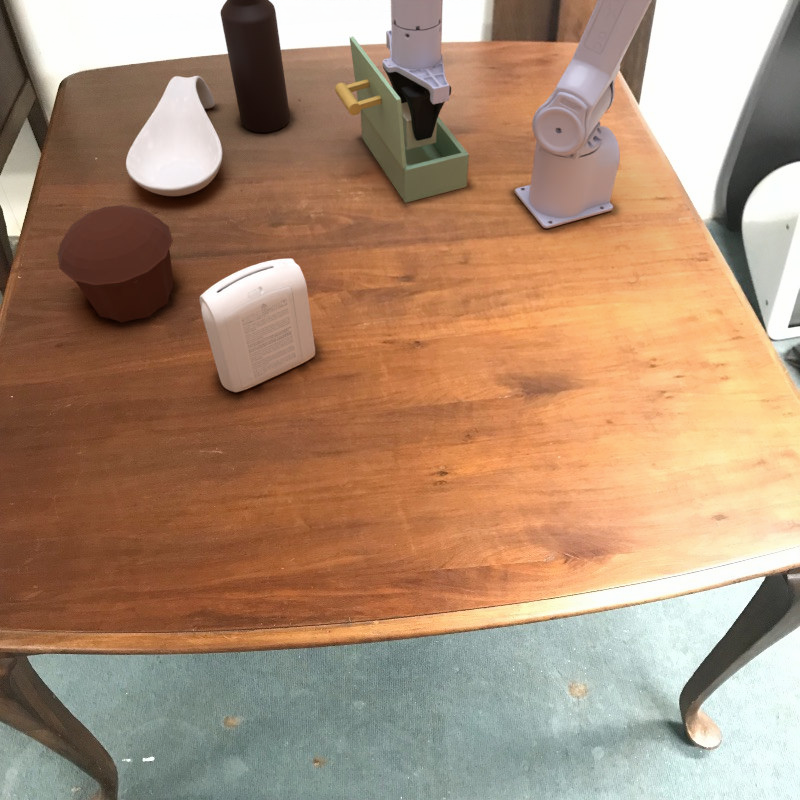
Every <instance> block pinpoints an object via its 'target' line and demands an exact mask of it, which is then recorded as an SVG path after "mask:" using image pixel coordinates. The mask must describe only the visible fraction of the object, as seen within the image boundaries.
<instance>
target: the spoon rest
mask: <svg viewBox="0 0 800 800" xmlns="http://www.w3.org/2000/svg"><path fill="white" fill-rule="evenodd" d="M215 105H216V103H215V99H214V96H213V94H212V91H211V89H210V87H209V86H208V84H207V82H206V81H205V80H204V78H202V77H201V76H199V75H194V76H190V77H185V76H179V75H175V76H173V77H172V78H171V79H170V80H169V82H168V84H167V86H166V88H165V89H164V91H163V94H162V96H161V98H160V99H159V101H158V103H157V105H156V107H155V108H154V110H153V111H152V113H151V115H150V116H149V118H148V119H147V121H146V122H145V124H144V125H143V126H142V128H141V129H140V131H139V133H138V134H137V136H136V137H135V139H134V140H133V143H132V145H131V146H130V148H129V150H128V152H127V155H126V159H125V168H126V171H127V173H128V175H129V177H130V179H131V180H132V181H133V182H134V183H135V184H137V185H138V186H139V187H141V188H142V189H144V190H146V191H148V192H150V193H153V194H155V195H161V196H166V197H182V196H187V195H191V194H194V193H196V192H198V191H200V190H202V189H204V188H205V187H207V186H208V185H209V184H210V183H211V182H212V181H214V179H215V177H216V176H217V174H218V173H219V170H220V168H221V165H222V162H223V155H224V154H223V146H222V142H221V140H220V137H219V135H218V133H217V130H216V129H215V128H214V125H213V123H212V121H211V119H210V118H209V116H208V114H207V112H206V109H211V108H212V109H213V108H214V107H215Z"/></svg>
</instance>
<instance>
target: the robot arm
mask: <svg viewBox="0 0 800 800" xmlns="http://www.w3.org/2000/svg"><path fill="white" fill-rule="evenodd" d="M652 1H653V0H597V1H596V3H595V6H594V7H593V10H592V12H591V15H590V17H589V19H588V21H587V24H586V26H585V28H584V30H583V32H582V35H581V38H580V40H579V42H578V44H577V46H576V48H575V51H574V53H573V56H572V58H571V60H570V62H569V63H568V65H567V67H566V69H565V70H564V71H563V73H562V75H561V77H560V79H559V81H558V83H557V85H556V86H555V89H553V91H552V93H551V94H550V95H549V97H548V98H547V99H546V100H545V101H544V102H543V104H541V105H540V106H539V107H538V108H537V109H536V111H535V112H534V115H533V117H532V121H531V123H532V124H531V129H532V133H533V136H534V138H535V147H534V155H533V162H532V168H531V169H532V170H531V175H530V178H531V179H530V183H529V184H528V185H523V186H520V187H516V188H515V189H514V193H515V195H516V196H517V197H518V198H519V200H520V201H521V202H522V204H523V205H524V206H525V207H526V208H527V210H528V211H529V212H530V214H531V215H532V216H533V217H534V218H535V219H536V221H537V222H538V223H539V224H540V226H541V227H542V228H544V229H550V228H554V227H557V226H561V225H564V224H568V223H572V222H575V221H579V220H582V219H586V218H589V217H594V216H597V215H600V214H604V213H607V212H611V211H613V210H614V205H613V204H612V203H611V199H612V194H613V191H614V186H615V182H616V179H617V174H618V170H619V165H620V159H621V155H620V153H621V152H620V146H619V142H618V139H617V137H616V135H615V133H614V132H613V131H612V129H610V128H609V127H607V126H604V125H601V119H602V118H603V116H604V115H605V114H606V112H607V111H608V110H609V109H610V108H611V106H612V105H613V102H614V100H615V96H616V95H615V93H616V90H615V89H616V88H615V83H616V80H617V79H616V78H617V76H618V74H619V72H620V69H621V63H622V61H623V59H624V57H625V55H626V53H627V50H628V49H629V46H630V45H631V43H632V40H633V39H634V36H635V34H636V33H637V30H639V27H640V25H641V22H642V20H643V18H644V17H645V14H646V13H647V11H648V9H649V7H650V4H651V3H652ZM443 5H444V3H443V0H390V21H391V23H390V25H391V29H390V30H386V32H385V34H386V35H385V38H386V40H385V43H386V48H387V49H388V50H389V57H388V58H383V60H382V68H383V70H384V72H385V74H386V75H387V77H388V80H389V83H390V85H391V87H392V88H393V89H394V91H395V92H396V93H397V95H398V96H399V97H400V98H401V103H406V102H407V103H408V106H409V110H410V114H411V121H412V129H413V133H414V137H415V139H416V140H417V141H419V140H424V139H428V138H431V137H432V135H433V132H434V128H435V125H436V121H437V118H438V116H439V115H440V113H441V110H442V108H443V106H444V105H445V104H446V102H449V101H450V96H451V94H452V86H451V85H450V83H449V82H448V81H447V78H446V71H445V62H444V57H443V54H442V39H443V38H442V36H443Z"/></svg>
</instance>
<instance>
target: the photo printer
mask: <svg viewBox="0 0 800 800" xmlns="http://www.w3.org/2000/svg"><path fill="white" fill-rule="evenodd" d="M199 304H200V308H201V309H200V311H201V317H202V320H203V324H204V327H205V331H206V334H207V338H208V341H209V346H210V349H211V352H212V356H213V359H214V363H215V367H216V370H217V374H218V377H219V381H220V383H221V385H222V386H223V388H225V389H226V390H228V391H230V392H233V393H239V392H242V391H246V390H248V389H251V388H252V387H256V386H257V385H260V384H262V383H264V382H266V381H268V380H271V379H272V378H275V377H276V376H279V375H281V374H284V373H285V372H288V371H290V370H291V369H293V368H297V367H298V366H300V365H302V364H304V363H306V362H308V361H309V360H311V359H312V358H314V357H315V355H316V346H315V339H314V332H313V324H312V315H311V307H310V300H309V292H308V285H307V281H306V279H305V275H304V273H303V271H302V268H301V266H300V265H299V264H297V263H296V261H295V260H294V259H293V258H277V259H272V260H267V261H262V262H259V263H256V264H253V265H250V266H247V267H245V268H243V269H240V270H237V271H236V272H234V273H232V274H230V275H228V276H226V277H224V278H222V279H220V280H219V281H218V282H216V283H214V284H213V285H212V286H210V287H209V288H207V289H206V290H205V291H204V292H203V293H202V294H201V295H199Z"/></svg>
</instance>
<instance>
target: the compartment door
mask: <svg viewBox="0 0 800 800" xmlns="http://www.w3.org/2000/svg"><path fill="white" fill-rule="evenodd" d="M349 44H350V52H351V60H352V68H353V75H354V82H352V83H349V84H346V83H345V82H339V83H337V84H336V85H335V87H334V92H335V94H336V96H337V97H338V98H339V99H340V101H341V103H342V104H343V105H344V107H345V109H346V110H347V112H348V113H349V115H351V116H358V115H360V114H361V109H362V110H363V112H364V113H365V115H366V116H367V118H368V119H369V120H370V122H371V123H372V125H373V126H374V128H375V129H376V131H377V132H378V133H379V135H380V136H381V138H382V139H383V141H384V142H385V144H386V145H387V146H388V148H389V149H390V151H391V152H392V154H393V155H394V157H395V158H396V160H397V161H398V162H399V164H400V165H401V167H402V168H406V156H405V144H404V132H403V120H402V108H401V98H400V97H399V96H398V95H397V93H396V92H395V91H394V89H393V87H392V85H391V83H390V82H389V81H388V80H387V79H386V77H385V76H384V75H383V73H382V72H381V71H380V70H379V68H378V66H377V65H376V64H375V62H373V61H372V59H371V58H370V56H369V55H368V53H367V52H366V51H365V50H364V48H363V47H362V46H361V44H360V43H359V42H358V41H357V40H356V38H355V37H354V36H353V35H352V36H350V37H349ZM353 92H356V97H355V95H354V94H353Z"/></svg>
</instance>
